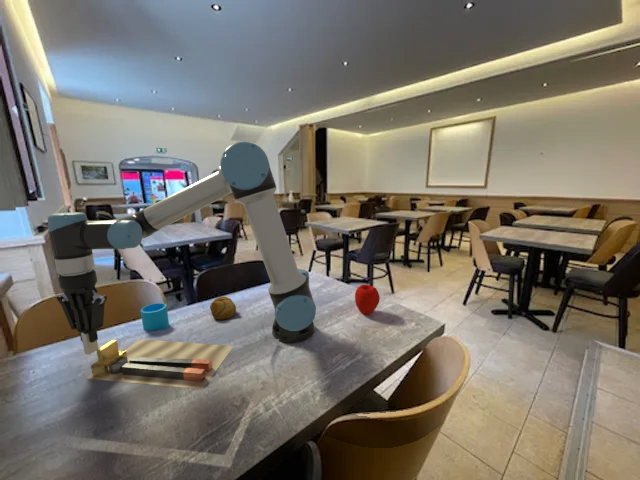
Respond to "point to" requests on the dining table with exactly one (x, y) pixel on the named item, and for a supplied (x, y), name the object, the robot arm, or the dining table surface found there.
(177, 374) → the tong fixed
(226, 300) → the bread roll
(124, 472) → the dining table surface
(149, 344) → the board
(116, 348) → the yellow stepped block
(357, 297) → the apple
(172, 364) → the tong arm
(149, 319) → the mug
